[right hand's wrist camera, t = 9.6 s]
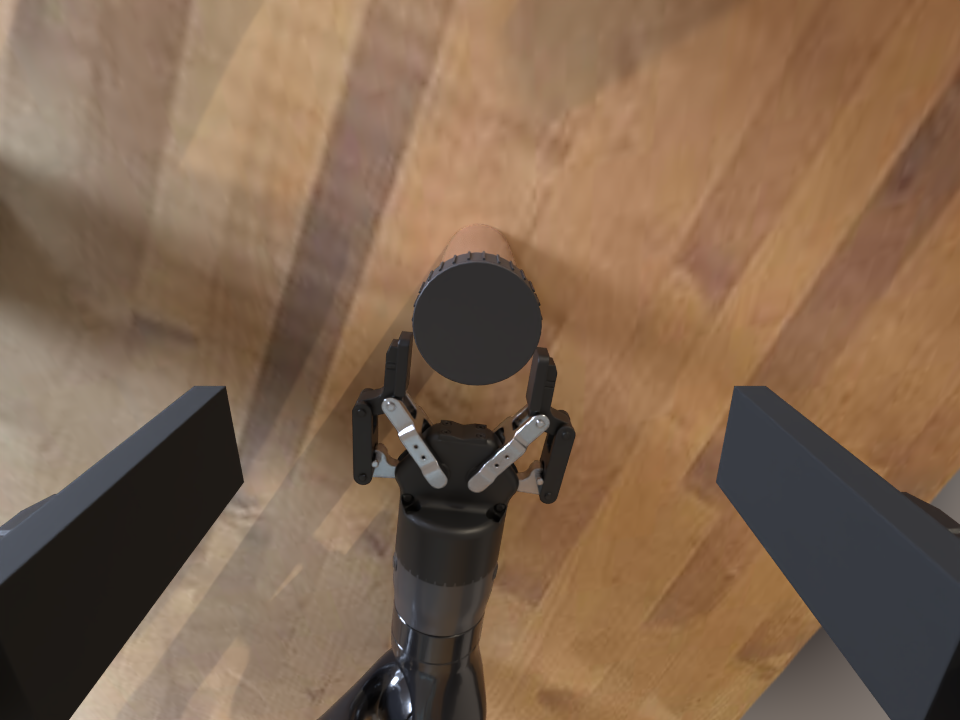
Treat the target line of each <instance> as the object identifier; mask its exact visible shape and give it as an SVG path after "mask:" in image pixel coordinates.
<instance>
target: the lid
mask: <svg viewBox="0 0 960 720" xmlns="http://www.w3.org/2000/svg"><path fill="white" fill-rule="evenodd" d="M534 292H535V290H534V288H533V285H532V283H531V281H528V280H527V278H526V277H525V274H524V272H523V270H519V269H518V268H517V267H516V266H515V265H514V264H513V262H512V261H511V260H510V262H509V261H508V260H506V259H504V258H502V257H500V255H498V254H497V256H496V255H493V254H489V253H485V251H483V253H480V252H474V253H471V251H468V253H466V254H461V255H458V256H457V255H454V257H453V258H451V259H449V260H447V261H445V262H443V261H442V262H441V264H440V266H439V267H437V268H436V269H435V270H434V271H431V272H430V274H429V277H428V279H427V281H426V282H423V284H422V286H421V288H420V290H419V293H420V295H418V297H417V299H416V301H415V303H414V307H415V308H414V313H413V318H412V321H413V334H414V338H415V342H416V345H417V347H418V349H419V351H420V353H421V355H422V356H423V358H424V359H425V361H426V362H427V363H428V364H429V365H430V366H431V367H432V368H433V369H434V370H435V371H437V372H438V373H439V374H441V375H442V376H444V377H446V378H448V379H450V380H452V381H455V382H458V383H461V384H467V385H488V384H493V383H496V382H500V381H502V380H505V379H507V378H509V377H510V376H512V375H514V374H515V373H517V372H518V371H519V370H520V369H522V368H523V367H524V366H525V365H526V363H527V362H528V361H529V360H530V358H531V357H532V355H533V354H534V352H535V350H536V348H537V345H538V343H539V339H540V335H541V328H542V316H541V312H540V308H539V306H540V302H539V300H538V297H537V295H536V294H534Z"/></svg>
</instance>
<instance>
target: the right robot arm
mask: <svg viewBox="0 0 960 720" xmlns="http://www.w3.org/2000/svg"><path fill="white" fill-rule="evenodd" d="M243 483H244V480H243V475H242V469H241V464H240V459H239V454H238V448H237V443H236V438H235V433H234V427H233V422H232V417H231V412H230V406H229V401H228V396H227V391H226V386H194V387H192V388H191V389H190V390H189V391H187V392H186V393H185V394H184V395H182V396H181V397H180V398H178V399H177V400H176V401H175V402H173V403H172V404H171V405H170V406H168V407H167V408H166V409H165V410H163V411H162V412H161V413H159V414H158V415H157V416H156V417H154V418H153V419H152V420H151V421H149V422H148V423H147V424H145V425H144V426H143V427H142V428H140V429H139V430H138V431H137V432H135V433H134V434H133V435H131V436H130V437H129V438H128V439H126V440H125V441H124V442H123V443H121V444H120V445H119V446H117V447H116V448H115V449H114V450H112V451H111V452H110V453H109V454H107V455H106V456H105V457H103V458H102V459H101V460H100V461H98V462H97V463H96V464H95V465H93V466H92V467H91V468H90V469H88V470H87V471H86V472H84V473H83V474H82V475H81V476H79V477H78V478H77V479H76V480H74V481H73V482H72V483H70V484H69V485H68V486H67V487H65V488H64V489H63V490H62V491H60V492H59V493H58V494H54V495H52V496H50V497H48V498H46V499H44V500H42V501H40V502H38V503H36V504H34V505H32V506H30V507H28V508H26V509H24V510H22V511H21V512H19V513H18V514H17V515H16V516H14V517H13V518H12V519H10V520H9V521H8V522H6V523H5V524H4V525H2V526H1V527H0V720H69V719H70V718H71V716H72V715H73V714H74V712H75V711H76V710H77V708H78V707H79V706H80V704H81V703H82V702H83V700H84V699H85V697H86V696H87V695H88V693H89V692H90V691H91V689H92V688H93V687H94V685H95V684H96V683H97V681H98V680H99V678H100V677H101V676H102V674H103V673H104V672H105V670H106V669H107V668H108V666H109V665H110V663H111V662H112V661H113V659H114V658H115V657H116V655H117V654H118V653H119V651H120V650H121V649H122V647H123V646H124V644H125V643H126V642H127V640H128V639H129V638H130V636H131V635H132V634H133V632H134V631H135V630H136V628H137V627H138V625H139V624H140V623H141V621H142V620H143V619H144V617H145V616H146V615H147V613H148V612H149V610H150V609H151V608H152V606H153V605H154V604H155V602H156V601H157V600H158V598H159V597H160V596H161V594H162V593H163V591H164V590H165V589H166V587H167V586H168V585H169V583H170V582H171V581H172V579H173V578H174V577H175V575H176V574H177V572H178V571H179V570H180V568H181V567H182V566H183V564H184V563H185V562H186V560H187V559H188V557H189V556H190V555H191V553H192V552H193V551H194V549H195V548H196V547H197V545H198V544H199V543H200V541H201V540H202V538H203V537H204V536H205V534H206V533H207V532H208V530H209V529H210V528H211V526H212V525H213V523H214V522H215V521H216V519H217V518H218V517H219V515H220V514H221V513H222V511H223V510H224V509H225V507H226V506H227V504H228V503H229V502H230V500H231V499H232V498H233V496H234V495H235V494H236V492H237V491H238V490H239V488H240V487H241V485H242V484H243ZM716 483H717V484H718V485H719V487H720V488H721V490H722V491H723V492H724V494H725V495H726V496H727V498H728V499H729V500H730V502H731V503H732V504H733V506H734V507H735V509H736V510H737V511H738V513H739V514H740V515H741V517H742V518H743V519H744V521H745V522H746V524H747V525H748V526H749V528H750V529H751V530H752V532H753V533H754V534H755V536H756V537H757V538H758V540H759V541H760V543H761V544H762V545H763V547H764V548H765V549H766V551H767V552H768V553H769V555H770V556H771V557H772V559H773V560H774V562H775V563H776V564H777V566H778V567H779V568H780V570H781V571H782V572H783V574H784V575H785V577H786V578H787V579H788V581H789V582H790V583H791V585H792V586H793V587H794V589H795V590H796V591H797V593H798V594H799V596H800V597H801V598H802V600H803V601H804V602H805V604H806V605H807V606H808V608H809V609H810V610H811V612H812V613H813V615H814V616H815V617H816V619H817V620H818V621H819V623H820V624H821V625H822V627H823V628H824V630H825V631H826V632H827V634H828V635H829V636H830V638H831V639H832V640H833V642H834V643H835V644H836V646H837V647H838V648H839V650H840V651H841V653H842V654H843V655H844V657H845V658H846V659H847V661H848V662H849V663H850V665H851V666H852V668H853V669H854V670H855V672H856V673H857V674H858V676H859V677H860V678H861V680H862V681H863V683H864V684H865V685H866V687H867V688H868V689H869V691H870V692H871V693H872V695H873V696H874V697H875V699H876V700H877V701H878V703H879V704H880V706H881V707H882V708H883V710H884V711H885V712H886V714H887V715H888V717H889V718H890V719H891V720H960V524H958V523H957V522H956V521H954V520H953V519H952V518H950V517H949V516H948V515H946V514H945V513H944V512H942V511H941V510H940V509H938V508H936V507H934V506H932V505H930V504H928V503H926V502H924V501H922V500H920V499H918V498H916V497H915V496H913V495H911V494H909V493H907V492H900V491H898V490H897V489H896V488H895V487H893V486H892V485H891V484H890V483H888V482H887V481H886V480H884V479H883V478H882V477H881V476H879V475H878V474H877V473H876V472H874V471H873V470H872V469H870V468H869V467H868V466H867V465H865V464H864V463H863V462H862V461H860V460H859V459H858V458H857V457H855V456H854V455H853V454H851V453H850V452H849V451H848V450H846V449H845V448H844V447H843V446H841V445H840V444H839V443H837V442H836V441H835V440H834V439H832V438H831V437H830V436H829V435H827V434H826V433H825V432H823V431H822V430H821V429H820V428H818V427H817V426H816V425H815V424H813V423H812V422H811V421H809V420H808V419H807V418H806V417H804V416H803V415H802V414H801V413H799V412H798V411H797V410H795V409H794V408H793V407H792V406H790V405H789V404H788V403H787V402H785V401H784V400H783V399H782V398H780V397H779V396H778V395H776V394H775V393H774V392H773V391H771V390H770V389H769V388H768V387H766V386H734V391H733V396H732V401H731V406H730V412H729V417H728V422H727V427H726V433H725V438H724V443H723V448H722V454H721V459H720V464H719V469H718V475H717V480H716Z"/></svg>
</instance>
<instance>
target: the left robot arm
mask: <svg viewBox="0 0 960 720" xmlns="http://www.w3.org/2000/svg"><path fill="white" fill-rule="evenodd" d="M412 343H413V332H406V331H402V333H401V335H400V337H399V340H398V339H393V341H392V343H391V345H390V347H389V349H388V351H387V353H386V366H385V380H384V387H382V388H380V389H375V390H373V389H370V388H367V389H364V390H363V391H362V392H361V393H360V396H359V398H358V400H357V402H356V404H355V406H354V408H353V410H352V424H353V475H354V480H355V481H356V482H357V483H358V484H361V485H366V484H368V483H370V482H371V480H372V477H384V478H395V479H396V481H397V483H398V485H399V487H400V503H399V514H398V525H397V535H396V547H395V552H394V556H393V568H394V569H393V583H394V606H393V617H392V626H391V644H392V648H391V649H390V650H388V651H387V652H386V653H385V654H384V655H383V656H382V657H380V658H379V659H378V661H377V662H376V663H375V664H374V665H373V666H372V667H371V668H370V669H369V670H368V671H367V672H366V673H365V674H364V675H363V676H362V677H361V678H360V679H359V680H358V681H357V682H356V683H355V684H354V685H353V686H352V687H351V688H350V689H349V690H348V691H347V692H346V693H345V694H344V695H343V696H342V697H341V698H340V699H339V700H338V701H337V702H336V703H335V704H334V705H333V706H331V707H330V708H329V709H328V710H327V711H326V712H325V713H324V714H323V715H322V716H321V717H319V718H318V719H317V720H486V692H485V683H484V674H483V665H482V659H481V654H480V649H479V640H480V636H481V630H482V624H483V618H484V613H485V608H486V604H487V601H488V599H489V596H490V593H491V590H492V586H493V582H494V579H495V577H496V573H497V569H498V562H497V560H498V555H499V549H500V544H501V538H502V533H503V527H504V522H505V516H506V511H507V506H508V502H509V500H510V499H511V497H512V496H513V495H514V494H515V493H516V491H520V492H526V493H533V494H539V497H540V500H541V501H542V502H543V503H546V504H550V503H553V502H554V501H556V499H557V496H558V493H559V490H560V486H561V483H562V479H563V476H564V473H565V469H566V466H567V463H568V459H569V456H570V452H571V449H572V446H573V442H574V439H575V431H574V428H573V427H572V425H571V422H570V417H569V415H568V413H567V412H566V411H564V410H556V409H554V408H552V407H551V402H552V397H553V392H554V387H555V381H556V377H557V370H556V366H555V363H554V361H553V358H551V357H549V354H548V351H547V348H541V347H537V348H536V350H535V352H534V354H533V360H532V365H531V371H530V376H529V382H528V387H527V393H526V399H527V404H526V405H525V406H524V407H523V408H522V409H521V410H520V411H518V412H517V413H516V414H515V415H514V416H512V417H508V418H506V419H505V420H504V421H503V422H502V423H501V424H499V425H498V426H497V427H496V428H495V429H494V430H493V431H491V430H490V429H487V428H486V425H482V424H469V425H461V424H459V423H456V422H453V421H446V420H441V423H438V424H434V425H433V424H432V422H431V421H430V420H429V418H428V417H427V415H426V414H425V412H424V411H423V409H422V408H421V407H420V406H417V405H416V403H415V402H414V400H413V399H412V397H411V396H410V395H409V393H408V392H407V388H408V385H409V377H410V366H411V354H412ZM380 414H386V416H387V417H388V419H389V420H390V421H391V423H392V424H393V426H394V427H395V428H396V430H397V432H398V436H399V439H400V441H401V442H402V444H403V445H404V446H405V448H406V450H405V451H404V452H403V453H402V454H401V455H400V456H399V458H398V460H397V459H393V458H391V457H390V456H389V454H388V450H387V448H386V447H385V446H384V444H382V443H379V444H378V415H380ZM543 432H546V433H547V436H546V439H545V443H544V447H543V450H542V454H541V458H540V461H538V460H535V461H534V462H533V463H532V464H531V465H530V466H529V468H528V470H527V471H525V472H522V473H518V471H517V468H516V466H515V465H514V462H515V461H516V460H517V459H518V458H519V457H521V456H522V455H523V454H524V453H525V451H526V449H527V447H528V445H529V444H530V443H531V442H533V441H534V440H535V439H536V438H537V437H538V436H540V435H541V434H542V433H543Z"/></svg>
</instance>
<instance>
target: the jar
mask: <svg viewBox="0 0 960 720" xmlns="http://www.w3.org/2000/svg"><path fill="white" fill-rule="evenodd" d="M468 251H471V253H474V252H480V253H483V251H485V253H489V254H493V255H496V256H497V254H498V255H500V257H502V258H504V259H506V260H508V261H509V262H510V260H511V261H512V262H513V264H514V265H515V266H516V263H515V260H514V257H513V254H512V251H511V249H510V246H509V244H508V241H507V240H506V238H505V237H504V236H503V235H502V234H501V233H500V232H499V231H498V230H496V229H495V228H493V227H490V226H487V225H482V224H474V225H469V226H466V227H464V228H462V229H460V230H459V231H458V232H456V233H455V234H454V235H453V237H452V238H451V239H450V241H449V243H448V245H447V247H446V250H445V253H444V255H443V258H442V260H441V262H442V261H443V262H445V261H447V260H449V259H451V258H453V257H454V255H457V256H458V255H461V254H466V253H468ZM440 264H441V263H440ZM439 266H440V265H439ZM516 267H517V266H516Z"/></svg>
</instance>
